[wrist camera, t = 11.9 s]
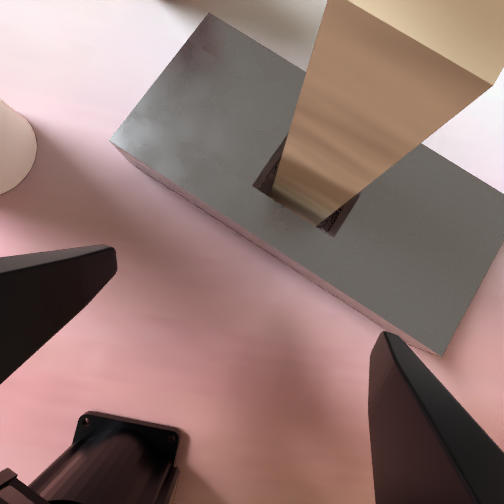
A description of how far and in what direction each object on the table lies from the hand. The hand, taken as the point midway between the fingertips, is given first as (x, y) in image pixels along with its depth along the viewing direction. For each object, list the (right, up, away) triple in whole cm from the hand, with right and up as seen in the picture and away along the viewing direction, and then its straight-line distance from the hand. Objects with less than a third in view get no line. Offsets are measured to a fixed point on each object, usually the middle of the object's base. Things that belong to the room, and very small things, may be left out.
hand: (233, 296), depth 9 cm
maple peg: (+5, +6, +11) cm, 14 cm away
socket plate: (+5, +6, +11) cm, 14 cm away
